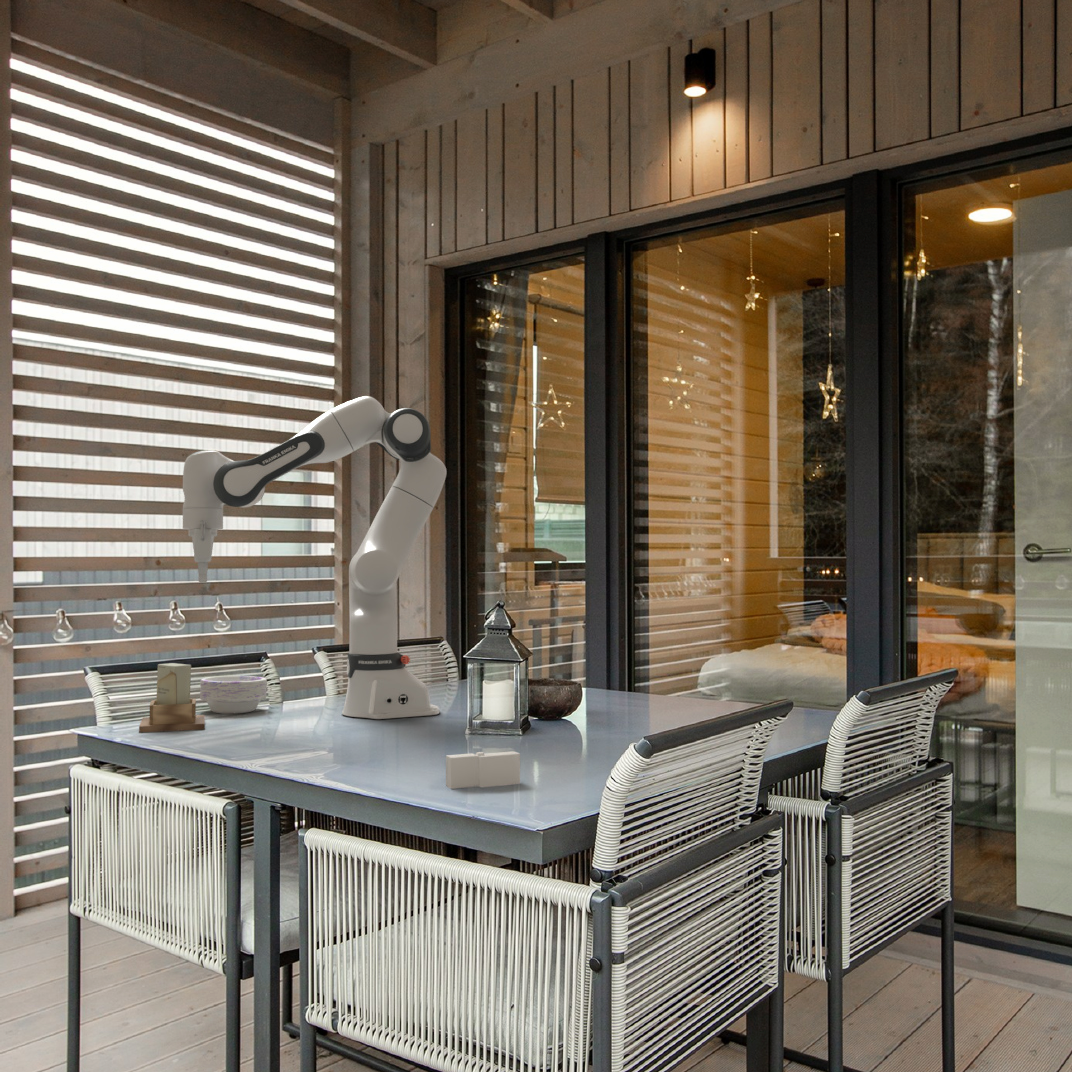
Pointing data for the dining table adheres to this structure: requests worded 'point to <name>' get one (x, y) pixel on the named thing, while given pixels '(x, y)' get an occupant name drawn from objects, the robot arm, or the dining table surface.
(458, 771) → the napkin holder
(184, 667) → the skincare box
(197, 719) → the box
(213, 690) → the paper bowls
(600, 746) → the dining table surface
